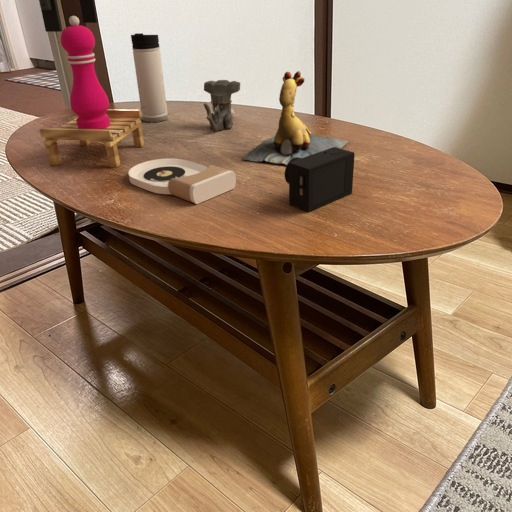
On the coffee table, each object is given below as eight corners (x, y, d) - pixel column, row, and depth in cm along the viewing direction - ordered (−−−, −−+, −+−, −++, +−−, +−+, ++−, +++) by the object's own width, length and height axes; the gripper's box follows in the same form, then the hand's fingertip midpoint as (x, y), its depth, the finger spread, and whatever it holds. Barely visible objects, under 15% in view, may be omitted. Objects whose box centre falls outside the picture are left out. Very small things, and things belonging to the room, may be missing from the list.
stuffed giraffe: (241, 159, 99) (242, 72, 91) (278, 136, 114) (281, 59, 106) (321, 172, 93) (328, 81, 86) (348, 146, 108) (357, 66, 100)
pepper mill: (68, 127, 102) (45, 16, 93) (101, 119, 107) (81, 13, 97) (86, 134, 98) (63, 18, 88) (119, 125, 102) (101, 14, 92)
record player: (186, 189, 79) (114, 163, 92) (188, 207, 81) (117, 179, 93) (240, 168, 86) (166, 146, 99) (241, 185, 88) (168, 162, 100)
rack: (48, 166, 100) (39, 129, 96) (85, 142, 113) (78, 108, 109) (115, 168, 98) (109, 130, 94) (145, 144, 110) (140, 109, 107)
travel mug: (137, 122, 126) (124, 33, 116) (148, 115, 131) (137, 30, 121) (161, 123, 124) (150, 33, 114) (171, 116, 130) (162, 30, 120)
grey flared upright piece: (266, 122, 122) (265, 78, 117) (207, 140, 112) (203, 92, 107) (225, 112, 131) (223, 71, 126) (168, 128, 121) (162, 84, 116)
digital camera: (327, 184, 87) (328, 144, 84) (352, 193, 84) (355, 151, 80) (283, 202, 82) (282, 160, 78) (308, 212, 78) (309, 168, 74)
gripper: (24, -130, 72) (57, 35, 82) (103, -110, 93) (121, 19, 103) (-24, -127, 73) (14, 35, 83) (64, -108, 94) (86, 19, 105)
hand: (73, 27), depth 93 cm, fingers open, 13 cm apart
